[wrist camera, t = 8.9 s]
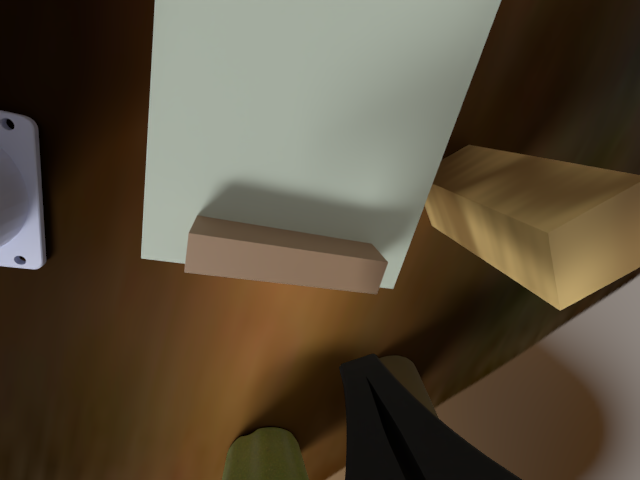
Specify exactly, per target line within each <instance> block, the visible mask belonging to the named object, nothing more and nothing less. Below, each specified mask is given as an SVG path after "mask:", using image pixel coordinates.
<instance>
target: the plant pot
mask: <svg viewBox="0 0 640 480" xmlns="http://www.w3.org/2000/svg"><path fill="white" fill-rule="evenodd" d="M222 480H309V479H308V475H307V472H306V468H305V465H304V461H303V458H302V454H301V451H300V448H299V444H298V442H297V440H296V439H295V437H294V436H293V434H292V433H291V432H289V431H287V430H285V429H281V428H275V427H266V428H260V429H257V430H256V431H255V432H253V433H252V434H250V435H247V436H241V437H239V438H238V439H237V440H236V441H235V442H234V443H233V444H232V445H231V447H230V448H229V451H228V453H227V458H226V463H225V468H224V473H223V478H222Z"/></svg>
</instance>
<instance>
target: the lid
mask: <svg viewBox="0 0 640 480" xmlns="http://www.w3.org/2000/svg"><path fill="white" fill-rule="evenodd" d="M500 2H501V0H155V9H154V27H153V46H152V64H151V82H150V101H149V119H148V138H147V156H146V175H145V193H144V212H143V230H142V249H141V258H143V259H151V260H159V261H168V262H176V263H184V264H185V270H184V272H186V273H194V274H203V275H212V276H221V277H230V278H238V279H247V280H256V281H265V282H274V283H282V284H291V285H300V286H309V287H318V288H326V289H335V290H344V291H353V292H362V293H371V294H377V292H378V290H379V287H383V288H391V289H393V288H394V285H395V282H396V280H397V277H398V274H399V272H400V269H401V266H402V264H403V261H404V258H405V256H406V253H407V250H408V248H409V245H410V242H411V240H412V237H413V234H414V232H415V229H416V226H417V224H418V221H419V218H420V216H421V213H422V210H423V208H424V205H425V202H426V200H427V197H428V194H429V192H430V189H431V186H432V184H433V181H434V178H435V176H436V173H437V170H438V168H439V165H440V162H441V160H442V157H443V154H444V152H445V149H446V146H447V144H448V141H449V138H450V136H451V133H452V130H453V128H454V125H455V122H456V120H457V117H458V114H459V112H460V109H461V106H462V104H463V101H464V98H465V96H466V93H467V90H468V88H469V85H470V82H471V80H472V77H473V74H474V72H475V69H476V66H477V64H478V61H479V58H480V56H481V53H482V50H483V48H484V45H485V42H486V40H487V37H488V34H489V32H490V29H491V26H492V24H493V21H494V18H495V16H496V13H497V10H498V8H499V5H500Z"/></svg>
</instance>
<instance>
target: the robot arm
mask: <svg viewBox="0 0 640 480" xmlns="http://www.w3.org/2000/svg"><path fill="white" fill-rule="evenodd" d="M7 119H10V120H11V121H12V122H13V123H14V125H15V126H14V129H11V128H10V127H9V126H8V125H7V123H6V122H7ZM19 256H22V257H24V258H25V259H26V261H22V260H21V259H20V258H19ZM45 263H46V246H45V230H44V214H43V197H42V181H41V165H40V148H39V132H38V126H37V124H36V123H35V121H34V120H33V119H31V118H30V117H27V116H25V115H20V114H16V113H11V112H6V111H2V110H0V266H6V267H15V268H25V269H38V268H41V267H42V266H43V265H44V264H45ZM339 369H340V373H341V377H342V380H343V385H344V392H345V402H346V420H347V454H346V475H345V480H522V479H520V478H519V477H517V476H516V475H514V474H513V473H511V472H510V471H508V470H506V469H505V468H504V467H502V466H501V465H499V464H498V463H496V462H495V461H493V460H492V459H490V458H489V457H487V456H486V455H484V454H483V453H482V452H480V451H479V450H478V449H476V448H475V447H474V446H472V445H471V444H470V443H468V442H467V441H466V440H464V439H463V438H462V437H460V436H459V435H458V434H457V433H455V432H454V431H453V430H452V429H450V428H449V427H448V426H447V425H446V424H444V423H443V422H442V421H441V420H439V419H438V418H437V417H436V416H435V415H434V414H433V413H432V412H430V411H429V410H428V409H427V408H426V407H425V406H424V405H423V404H422V403H420V402H419V401H418V400H417V399H416V398H415V397H414V396H413V395H412V394H411V393H410V392H409V391H408V390H407V389H406V388H405V387H404V386H403V385H402V384H401V383H400V382H399V381H398V380H397V379H396V378H395V377H394V375H393V374H392V373H391V372H390V371H389V370H388V369H387V368H386V367H385V365H384V364H383V363H382V362H381V360H380V359H379V358H378V357H377V355H375V354H370V355H367V356H364V357H361V358H358V359H355V360H352V361H349V362H346V363H343V364H341V365H340V367H339Z"/></svg>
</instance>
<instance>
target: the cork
mask: <svg viewBox="0 0 640 480" xmlns="http://www.w3.org/2000/svg"><path fill="white" fill-rule="evenodd" d="M379 359H380V360H381V362H382V363H383V364H384V365H385V367H386V368H387V369H388V370H389V371H390V372H391V373H392V374H393V375H394V377H395V378H396V379H397V380H398V381H399V382H400V383H401V384H402V385H403V386H404V387H405V388H406V389H407V390H408V391H409V392H410V393H411V394H412V395H413V396H414V397H415V398H416V399H417V400H418V401H419V402H420V403H422V404H423V405H424V406H425V407H426V408H427V409H428V410H429V411H430V412H432V413H433V414H434V415H435V416H436V417H437V418H438V416H437V414H436V411H435V409H434V407H433V405H432V402H431V400H430V398H429V396H428V393H427V391H426V389H425V387H424V384H423V382H422V380H421V378H420V376H419V373H418V371H417V369H416V367H415V365H414V363H413V362H412V361H410V360H409V359H408V358H406V357H402V356H398V355H393V356H384V357H381V358H379ZM438 419H439V418H438Z"/></svg>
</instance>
